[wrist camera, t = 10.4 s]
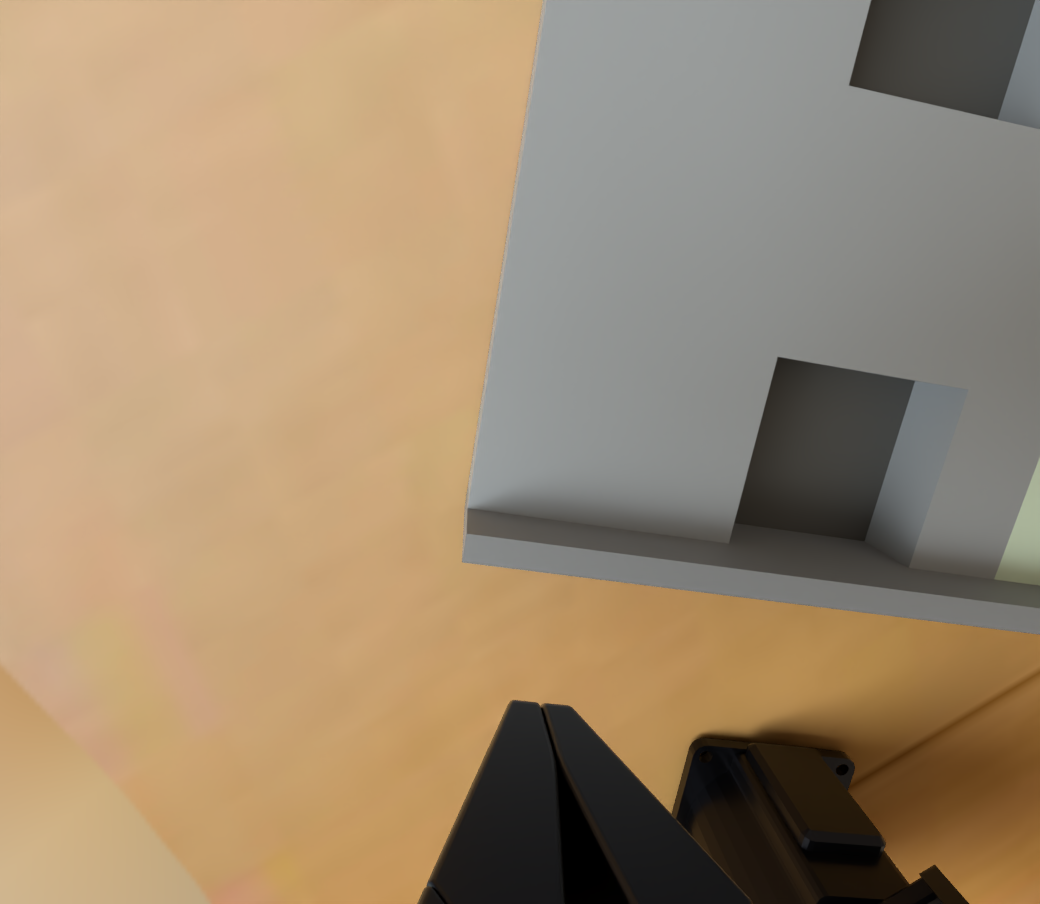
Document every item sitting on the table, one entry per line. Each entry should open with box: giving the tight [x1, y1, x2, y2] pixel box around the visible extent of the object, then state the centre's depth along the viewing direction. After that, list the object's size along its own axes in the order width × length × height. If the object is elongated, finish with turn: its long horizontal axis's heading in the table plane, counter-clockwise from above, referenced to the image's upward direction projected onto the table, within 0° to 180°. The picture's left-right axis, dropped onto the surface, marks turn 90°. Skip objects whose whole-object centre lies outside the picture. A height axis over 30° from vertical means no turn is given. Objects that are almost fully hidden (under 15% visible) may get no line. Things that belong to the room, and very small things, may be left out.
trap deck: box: [462, 0, 1040, 634], centre depth 17 cm, size 20×24×4 cm
